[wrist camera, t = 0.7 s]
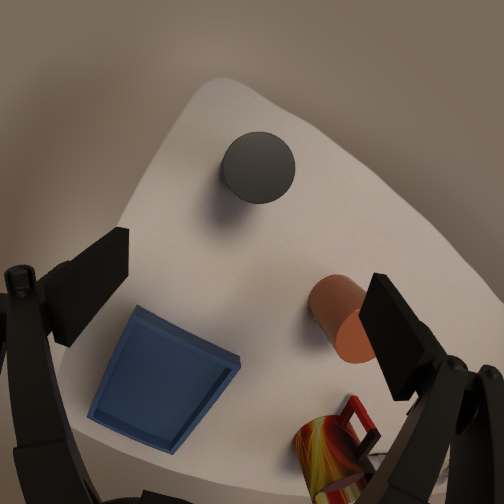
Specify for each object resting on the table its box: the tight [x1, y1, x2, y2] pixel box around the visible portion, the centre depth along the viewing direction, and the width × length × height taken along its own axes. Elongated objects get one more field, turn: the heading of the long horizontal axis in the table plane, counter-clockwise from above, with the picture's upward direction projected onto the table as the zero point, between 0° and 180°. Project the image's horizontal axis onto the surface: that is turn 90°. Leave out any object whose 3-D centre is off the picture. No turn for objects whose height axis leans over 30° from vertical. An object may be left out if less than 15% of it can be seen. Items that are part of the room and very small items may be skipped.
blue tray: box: [87, 305, 241, 455], centre depth 35 cm, size 20×14×2 cm
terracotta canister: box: [308, 275, 376, 364], centre depth 31 cm, size 6×6×9 cm
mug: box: [293, 395, 381, 504], centre depth 35 cm, size 10×14×12 cm
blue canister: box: [220, 132, 295, 204], centre depth 26 cm, size 5×5×11 cm
